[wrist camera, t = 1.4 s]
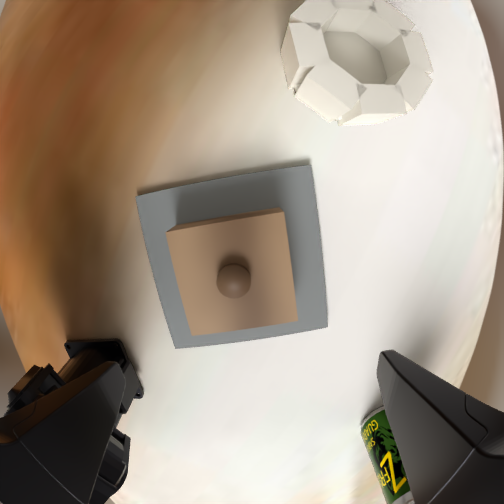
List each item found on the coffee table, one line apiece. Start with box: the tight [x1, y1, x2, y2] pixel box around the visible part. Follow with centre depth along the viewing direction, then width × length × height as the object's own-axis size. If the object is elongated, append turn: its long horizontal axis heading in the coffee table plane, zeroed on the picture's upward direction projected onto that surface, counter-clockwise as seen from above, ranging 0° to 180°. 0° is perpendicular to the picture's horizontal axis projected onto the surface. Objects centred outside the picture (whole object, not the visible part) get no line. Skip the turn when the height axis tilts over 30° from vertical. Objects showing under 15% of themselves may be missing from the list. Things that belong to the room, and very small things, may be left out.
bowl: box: [281, 0, 434, 126], centre depth 15 cm, size 9×9×4 cm
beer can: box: [361, 406, 415, 504], centre depth 19 cm, size 5×5×12 cm
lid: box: [165, 207, 298, 336], centre depth 18 cm, size 7×7×3 cm
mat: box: [136, 165, 328, 349], centre depth 20 cm, size 12×12×1 cm
